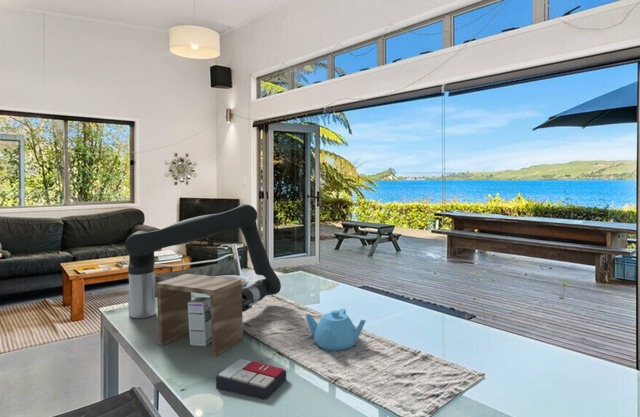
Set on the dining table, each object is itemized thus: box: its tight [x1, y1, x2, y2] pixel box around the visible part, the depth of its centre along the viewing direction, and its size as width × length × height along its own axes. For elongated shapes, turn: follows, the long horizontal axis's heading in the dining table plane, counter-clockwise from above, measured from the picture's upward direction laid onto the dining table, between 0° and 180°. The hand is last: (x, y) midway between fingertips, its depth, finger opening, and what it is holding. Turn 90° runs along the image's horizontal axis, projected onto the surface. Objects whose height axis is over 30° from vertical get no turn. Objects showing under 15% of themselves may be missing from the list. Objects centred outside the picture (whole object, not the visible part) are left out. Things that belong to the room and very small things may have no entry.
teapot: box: [305, 308, 367, 352], centre depth 135 cm, size 15×15×11 cm
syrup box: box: [188, 296, 212, 347], centre depth 137 cm, size 6×6×14 cm
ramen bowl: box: [205, 274, 250, 297], centre depth 189 cm, size 25×23×8 cm
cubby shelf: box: [155, 273, 244, 358], centre depth 137 cm, size 23×14×20 cm, turn 66°
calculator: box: [215, 358, 287, 400], centre depth 110 cm, size 11×4×15 cm
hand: (219, 309), depth 146 cm, fingers open, 8 cm apart
